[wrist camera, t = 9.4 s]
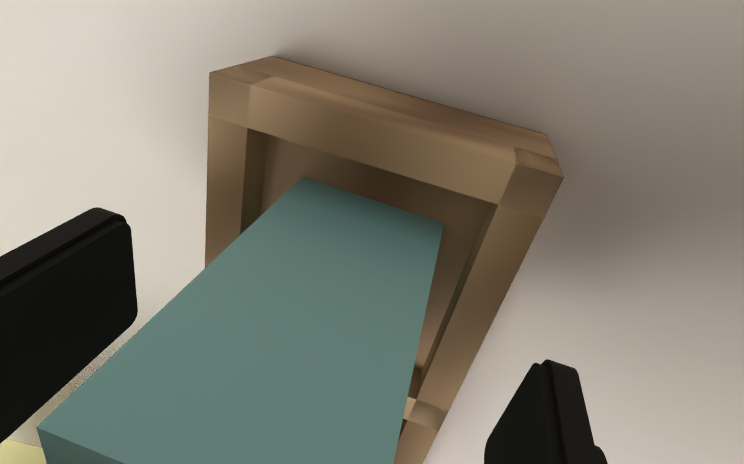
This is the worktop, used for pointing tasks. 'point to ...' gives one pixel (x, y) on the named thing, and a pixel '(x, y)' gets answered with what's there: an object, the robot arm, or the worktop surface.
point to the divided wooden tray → (387, 196)
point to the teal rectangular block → (270, 347)
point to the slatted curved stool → (20, 453)
